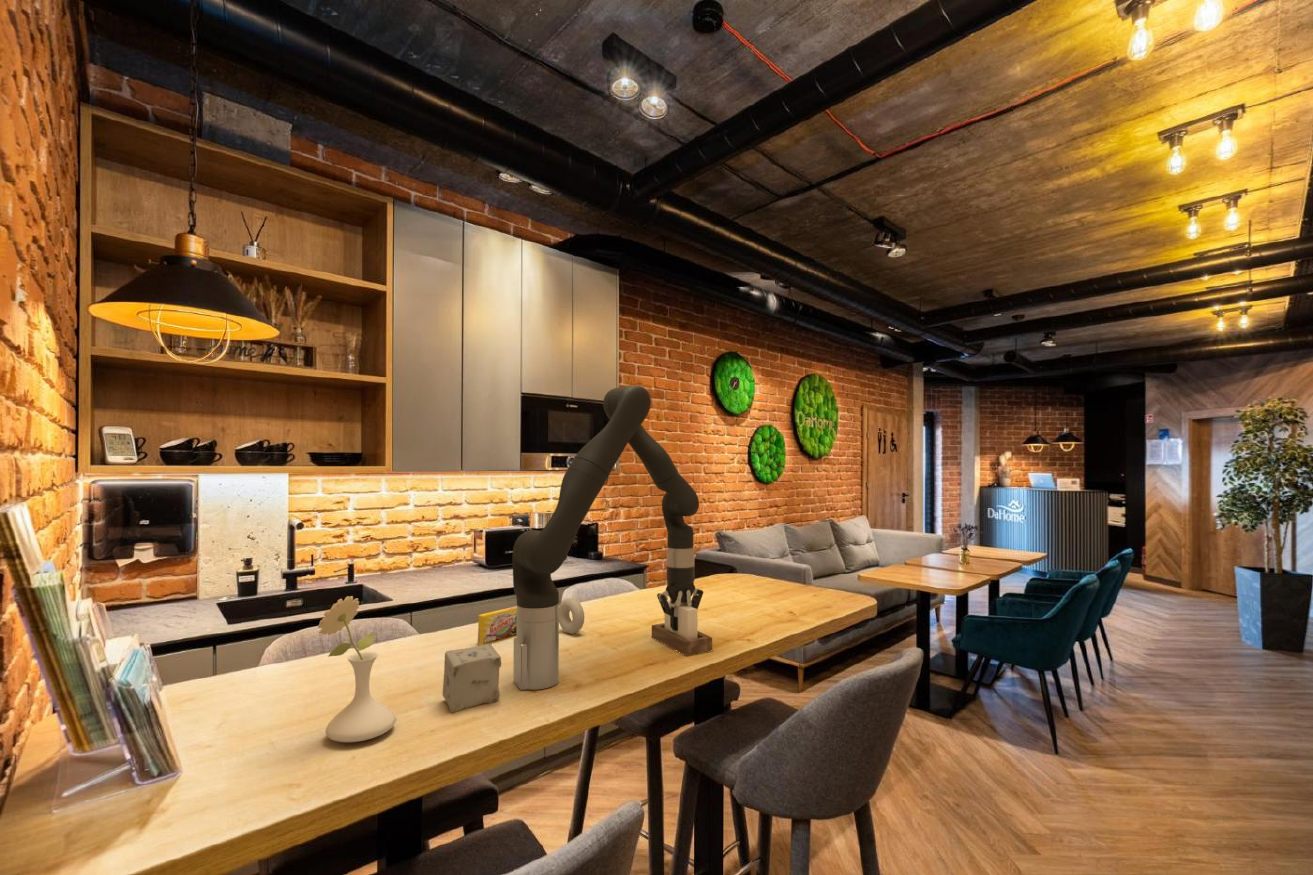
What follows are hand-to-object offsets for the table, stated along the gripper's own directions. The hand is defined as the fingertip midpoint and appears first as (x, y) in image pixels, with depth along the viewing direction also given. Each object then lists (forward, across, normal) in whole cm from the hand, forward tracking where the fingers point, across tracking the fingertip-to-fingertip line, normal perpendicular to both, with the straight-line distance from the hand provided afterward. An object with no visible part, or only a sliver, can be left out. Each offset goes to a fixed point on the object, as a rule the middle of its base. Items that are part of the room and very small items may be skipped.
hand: (680, 628), depth 158 cm
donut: (+4, -22, +24) cm, 33 cm away
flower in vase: (+4, -78, -17) cm, 80 cm away
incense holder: (+4, -57, -12) cm, 58 cm away
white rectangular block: (+3, 0, 0) cm, 3 cm away
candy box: (+5, -40, +28) cm, 49 cm away
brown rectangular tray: (+4, 0, 0) cm, 4 cm away
